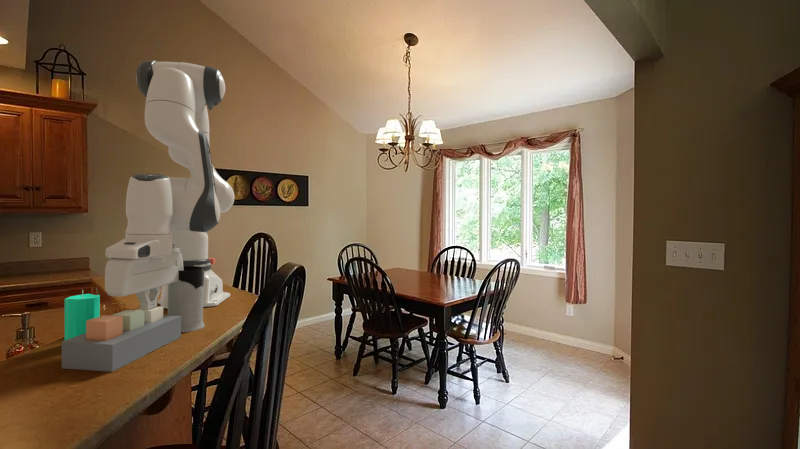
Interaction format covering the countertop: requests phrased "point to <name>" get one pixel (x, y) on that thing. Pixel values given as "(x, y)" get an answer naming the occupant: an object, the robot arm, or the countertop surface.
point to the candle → (80, 313)
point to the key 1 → (104, 327)
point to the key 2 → (152, 314)
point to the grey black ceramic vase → (187, 298)
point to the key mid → (131, 319)
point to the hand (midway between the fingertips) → (148, 308)
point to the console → (119, 346)
